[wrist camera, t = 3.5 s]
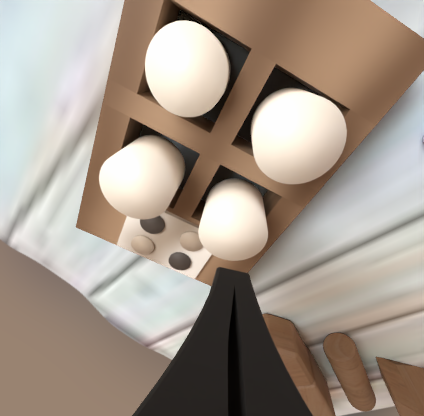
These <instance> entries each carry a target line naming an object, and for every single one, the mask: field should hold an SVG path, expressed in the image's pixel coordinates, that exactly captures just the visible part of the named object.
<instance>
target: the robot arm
mask: <svg viewBox="0 0 424 416" xmlns="http://www.w3.org/2000/svg"><path fill="white" fill-rule="evenodd" d="M423 142H424V136H423ZM132 416H313V415H312V413H311V412H310V410H309V408H308V407H307V405H306V403H305V402H304V400H303V398H302V396H301V394H300V393H299V391H298V389H297V387H296V386H295V384H294V382H293V380H292V378H291V376H290V374H289V372H288V370H287V369H286V367H285V365H284V363H283V361H282V359H281V357H280V354H279V352H278V350H277V348H276V346H275V344H274V341H273V339H272V337H271V335H270V332H269V330H268V328H267V325H266V323H265V320H264V318H263V315H262V313H261V310H260V307H259V305H258V302H257V299H256V296H255V293H254V290H253V287H252V283H251V280H250V276H249V274H248V273H245V272H240V271H236V270H231V269H227V268H222V267H218V268H217V269H216V272H215V276H214V279H213V283H212V286H211V290H210V293H209V296H208V298H207V300H206V302H205V304H204V307H203V309H202V311H201V313H200V314H199V316H198V318H197V320H196V322H195V324H194V326H193V327H192V329H191V331H190V333H189V334H188V336H187V338H186V339H185V341H184V343H183V344H182V346H181V347H180V349H179V351H178V352H177V354H176V355H175V357H174V358H173V360H172V361H171V363H170V364H169V366H168V367H167V369H166V370H165V372H164V373H163V375H162V376H161V378H160V379H159V380H158V382H157V383H156V385H155V386H154V387H153V389H152V390H151V391H150V393H149V394H148V395H147V397H146V398H145V399H144V401H143V402H142V403H141V405H140V406H139V407H138V409H137V410H136V411H135V413H134V414H133V415H132Z"/></svg>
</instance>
